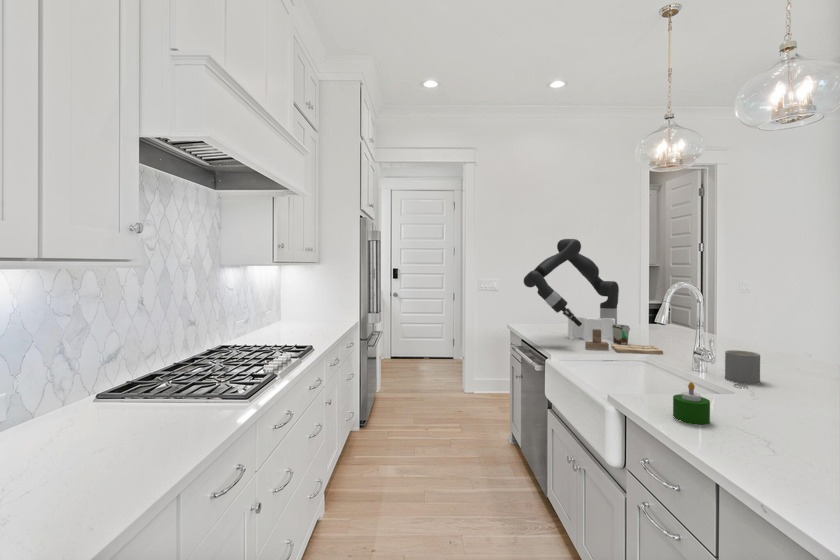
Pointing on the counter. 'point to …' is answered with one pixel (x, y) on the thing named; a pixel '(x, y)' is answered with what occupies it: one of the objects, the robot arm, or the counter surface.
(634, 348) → the oak board
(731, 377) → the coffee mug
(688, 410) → the candle
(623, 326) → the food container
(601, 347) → the block
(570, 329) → the pale grey segmented block
